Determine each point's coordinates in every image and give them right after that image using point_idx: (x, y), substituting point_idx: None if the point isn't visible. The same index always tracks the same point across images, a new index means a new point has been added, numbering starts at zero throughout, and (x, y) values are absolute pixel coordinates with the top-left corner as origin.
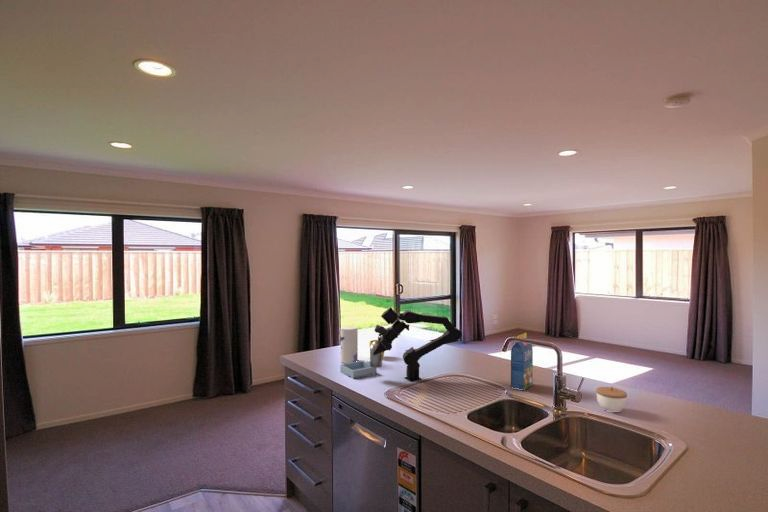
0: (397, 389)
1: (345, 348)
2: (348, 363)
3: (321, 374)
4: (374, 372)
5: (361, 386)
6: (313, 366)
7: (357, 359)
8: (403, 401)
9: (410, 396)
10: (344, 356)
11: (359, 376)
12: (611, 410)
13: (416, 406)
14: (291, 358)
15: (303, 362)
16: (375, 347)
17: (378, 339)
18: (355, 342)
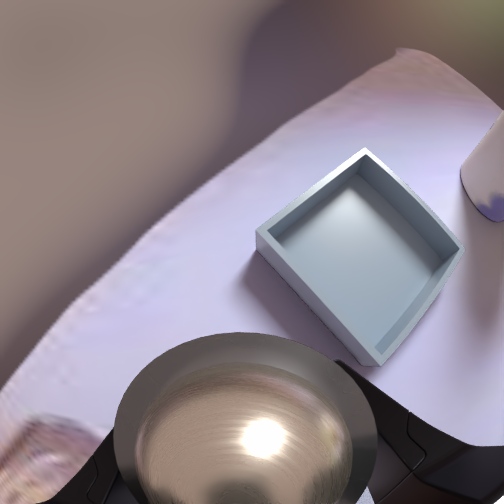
0: None
1: (494, 139)
2: (397, 181)
3: (300, 114)
4: (357, 355)
5: (136, 313)
6: (381, 89)
7: (502, 218)
8: (24, 463)
9: None
10: (475, 158)
11: (283, 277)
12: None
13: (10, 481)
14: (415, 55)
15: (402, 71)
16: (122, 444)
17: (447, 495)
18: None
